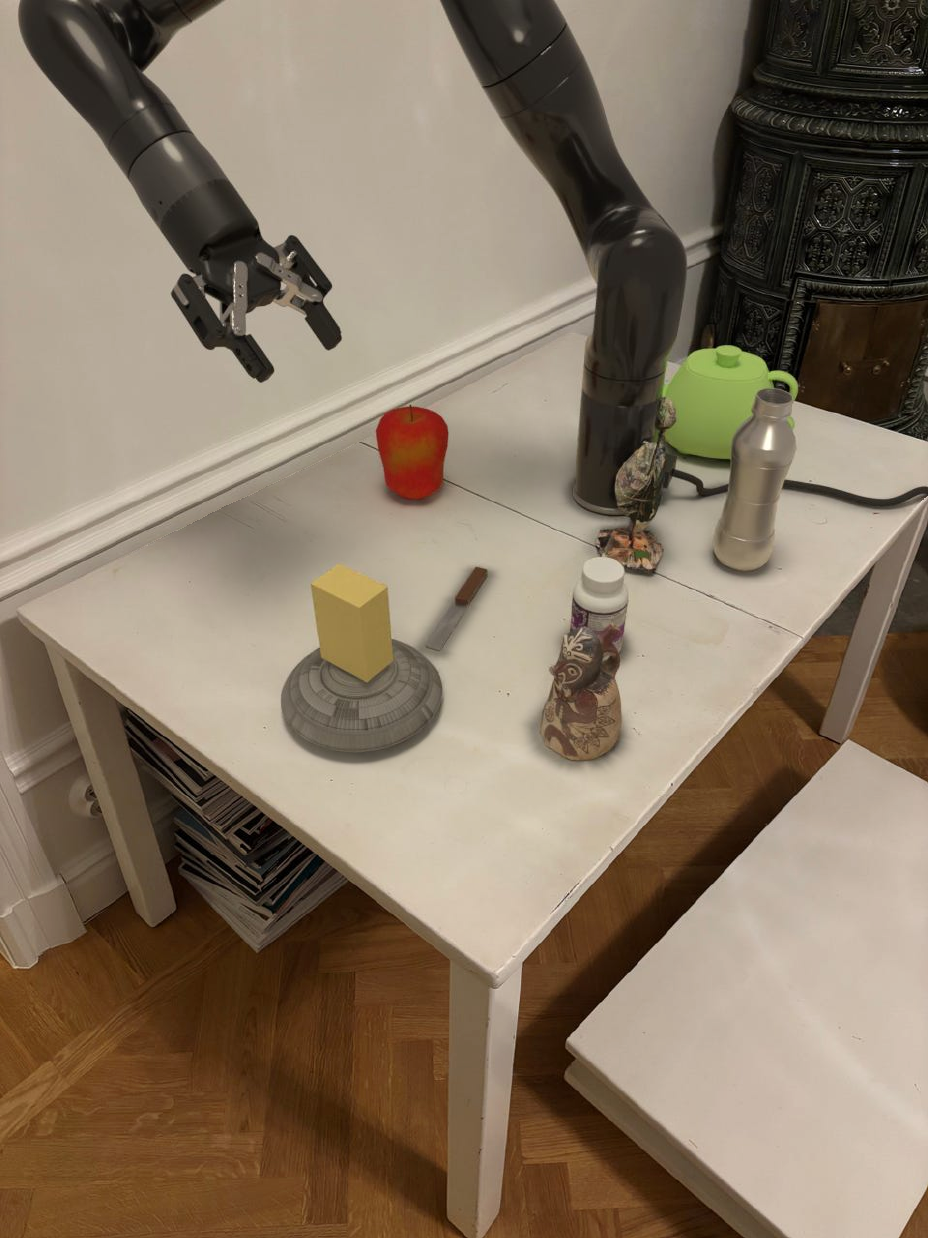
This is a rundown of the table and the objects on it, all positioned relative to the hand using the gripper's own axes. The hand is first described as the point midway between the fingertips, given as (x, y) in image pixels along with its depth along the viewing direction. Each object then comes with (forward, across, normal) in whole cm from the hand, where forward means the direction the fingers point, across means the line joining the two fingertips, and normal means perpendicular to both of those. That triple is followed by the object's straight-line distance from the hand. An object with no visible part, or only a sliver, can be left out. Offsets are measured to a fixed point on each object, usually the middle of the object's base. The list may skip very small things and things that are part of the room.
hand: (303, 360), depth 84 cm
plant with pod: (+34, +27, +4) cm, 44 cm away
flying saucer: (+29, -10, +9) cm, 32 cm away
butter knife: (+28, +7, +10) cm, 30 cm away
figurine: (+42, -1, -4) cm, 42 cm away
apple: (+15, +22, +23) cm, 35 cm away
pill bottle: (+38, +10, 0) cm, 39 cm away
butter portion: (+25, -10, +5) cm, 27 cm away
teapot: (+31, +55, +7) cm, 63 cm away
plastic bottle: (+42, +32, -4) cm, 53 cm away
